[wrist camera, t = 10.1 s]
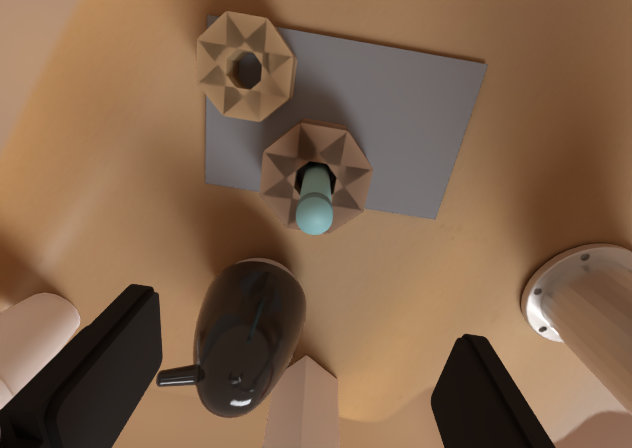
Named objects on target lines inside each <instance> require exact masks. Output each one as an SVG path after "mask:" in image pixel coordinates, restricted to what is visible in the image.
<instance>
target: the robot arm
mask: <svg viewBox="0 0 632 448" xmlns="http://www.w3.org/2000/svg"><path fill="white" fill-rule="evenodd" d="M521 308H522V314H523V316H524V318H525V320H526V322H527V323H528V324H529V325H530V327H531V328H532V329H533V330H534V331H535V332H536V333H537V334H539V335H541V336H542V337H544V338H546V339H549V340H552V341H557V342H564V343H565V344H566V345H567V346H568V347H569V348H570V349H571V350H572V351H573V352H574V353H575V355H576V356H577V357H578V358H579V359H580V360H581V361H582V362H583V363H584V364H585V365H586V366H587V367H588V369H589V370H590V371H591V372H592V373H593V374H594V375H595V376H596V377H597V378H598V379H599V380H600V382H601V383H602V384H603V385H604V386H605V387H606V388H607V389H608V390H609V391H610V392H611V393H612V395H613V396H614V397H615V398H616V399H617V400H618V401H619V402H620V403H621V404H622V405H623V406H624V407H625V409H626V410H627V411H628V412H629V413H630V414H631V415H632V251H630V250H628V249H626V248H623V247H621V246H618V245H613V244H607V243H599V244H588V245H583V246H579V247H576V248H573V249H570V250H567V251H565V252H563V253H561V254H559V255H557V256H555V257H554V258H552V259H551V260H549V261H548V262H546V263H545V264H544V265H543V266H542V267H541V268H539V269H538V270H537V271H536V272H535V274H534V275H533V276H532V277H531V278H530V280H529V282H528V283H527V285H526V287H525V289H524V292H523V295H522V301H521ZM161 362H162V339H161V322H160V305H159V294H158V293H157V292H154V289H153V287H150V286H144V285H137V284H131V285H129V286H128V287H127V288H126V289H125V290H124V291H123V292H122V293H121V294H120V295H119V296H118V297H117V298H116V299H115V300H114V301H113V302H112V303H111V304H110V305H109V306H108V307H107V308H106V309H105V310H104V311H103V312H102V313H101V314H100V315H99V316H98V317H97V318H96V319H95V320H94V321H93V322H92V323H91V324H90V325H89V326H86V327H85V328H83V329H82V330H81V331H80V332H79V333H78V334H77V335H76V336H75V337H74V338H73V339H72V340H71V341H70V342H69V343H68V344H67V345H66V346H65V347H64V348H63V349H62V350H61V351H60V352H59V353H58V354H57V355H56V356H55V357H54V358H53V359H52V360H50V361H49V362H48V363H47V364H46V365H45V366H44V367H43V368H42V369H41V370H40V371H39V372H38V373H37V374H36V375H35V376H34V377H33V378H32V379H31V380H30V381H29V382H28V383H27V384H26V385H25V386H24V387H23V388H22V389H21V390H20V391H19V392H18V393H17V394H16V395H15V396H14V397H13V398H12V399H11V400H10V401H9V402H8V403H7V404H6V405H5V406H4V407H3V408H2V409H1V410H0V448H112V446H113V444H114V443H115V441H116V440H117V438H118V436H119V435H120V433H121V431H122V430H123V428H124V426H125V425H126V423H127V421H128V420H129V418H130V416H131V414H132V413H133V411H134V410H135V408H136V406H137V405H138V403H139V401H140V400H141V397H142V396H143V395H144V393H145V391H146V390H147V388H148V386H149V385H150V383H151V381H152V380H153V378H154V376H155V375H156V373H157V371H158V370H159V368H160V365H161ZM431 406H432V410H433V413H434V416H435V420H436V423H437V426H438V429H439V432H440V435H441V438H442V441H443V445H444V448H555V446H554V444H553V443H552V441H551V440H550V438H549V436H548V435H547V433H546V432H545V430H544V428H543V427H542V425H541V424H540V422H539V421H538V419H537V417H536V416H535V414H534V413H533V411H532V409H531V408H530V406H529V405H528V403H527V401H526V400H525V398H524V397H523V395H522V393H521V392H520V390H519V389H518V387H517V386H516V384H515V382H514V381H513V379H512V378H511V376H510V374H509V373H508V371H507V370H506V368H505V366H504V365H503V363H502V362H501V360H500V358H499V357H498V355H497V354H496V352H495V351H494V349H493V347H492V346H491V344H490V343H489V341H488V340H487V338H485V337H483V336H477V335H470V334H464V335H463V336H462V337H461V338H458V339H457V340H456V342H455V344H454V346H453V349H452V351H451V353H450V355H449V358H448V360H447V362H446V364H445V366H444V369H443V371H442V373H441V375H440V378H439V380H438V382H437V384H436V387H435V389H434V391H433V394H432V396H431Z"/></svg>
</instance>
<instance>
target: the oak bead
mask: <svg viewBox="0 0 632 448" xmlns="http://www.w3.org/2000/svg"><path fill="white" fill-rule="evenodd" d="M247 54H255V56H256V57H257V58H258V60H259V61H260V63H261V64H262V73H261V81H260V82H259V83H258V84H257V85H255V86H254V87H253V88H247V87H246V86H245V84H244V83H243V82H242V80H241V79H240V78H239V76H238V73H239V62H240V61H241V60H242V59H243V58H244V57H245V56H246V55H247ZM296 68H297V58H296V57H295V55H294V54H293V52H292V51H291V49H290V48H289V46H288V45H287V43H286V42H285V40H284V39H283V37H282V36H281V34H280V33H279V31H278V30H277V28H276V27H275V26H274V25H273V24H272V22H271V21H270V20H269V19H268V18H264V17H259V16H253V15H247V14H242V13H236V12H231V11H227V12H224V13H223V14H222V15H221V16H220V17H219V18H218V19H217V20H216V21H215V22H214V23H213V24H212V25H211V26H210V27H209V28H208V29H207V30H206V31H205V32H204V33H203V34H202V35H201V36H200V37H199V38H198V40H197V84H198V85H199V87H200V88H201V89H202V90H203V92H204V93H205V94H206V95H207V97H208V98H209V99H210V100H211V102H212V103H213V104H214V105H215V107H216V108H217V109H218V110H219V112H220V113H221V114H222V115H224V116H226V117H232V118H238V119H244V120H250V121H256V122H260V121H262V120H264V119H266V118H268V117H269V116H270V115H271V114H273V113H274V112H275V111H276V110H278V109H279V108H280V107H281V106H283V105H284V104H285V103H286V102H288V101H289V100H290V99H291V98H293V93H294V85H295V76H296Z"/></svg>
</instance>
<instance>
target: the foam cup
mask: <svg viewBox="0 0 632 448" xmlns="http://www.w3.org/2000/svg"><path fill="white" fill-rule="evenodd" d="M79 324H80V316H79V314H78V311H77V309H76V308H75V307H74V306H73V305H72V304H71V303H70V302H69V301H68V300H66V299H64V298H62V297H60V296H58V295H56V294H51V293H45V292H43V293H39V294H35V295H33V296H31V297H28V298H27V299H25V300H23V301H21V302H19V303H17V304H16V305H14V306H12V307H10V308H8V309H6V310H4V311H3V312H1V313H0V410H1V409H2V408H3V407H4V406H5V405H6V404H7V403H8V402H9V401H10V400H11V399H12V398H13V397H14V396H15V395H16V394H17V393H18V392H19V391H20V390H21V389H22V388H23V387H24V386H25V385H26V384H27V383H28V382H29V381H30V380H31V379H32V378H33V377H34V376H35V375H36V374H37V373H38V372H39V371H40V370H41V369H42V368H43V367H44V366H45V365H46V364H47V363H48V362H49V361H50V360H52V359H53V358H54V357H55V356H56V355H57V354H58V353H59V352H60V350H61V349H62V348H63V346H64V345H65V344H66V343H67V341H68V340H69V339H70V337H71V336H72V335H73V334H74V332H75V331H76V329H77V328H78V327H79Z"/></svg>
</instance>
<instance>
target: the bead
mask: <svg viewBox="0 0 632 448" xmlns="http://www.w3.org/2000/svg"><path fill="white" fill-rule="evenodd" d="M309 161H312V162H319V163H325V164H327V165H328V166H329V167H330V169H331V170H332V172H333V173H334V177H333V181H331V182H330V190H331V202H332V206H333V220H332V224H331V226H330V227H329V229H328V230H327V231H325V232H323V233H324V234H327V233H328V234H329V233H331V232H332V231H334V230H335V229H337V228H338V227H340V226H342V225H343V224H345V223H346V222H348V221H349V220H351V219H353V218H354V217H356V216H357V215H359V214H360V213H362V212H363V211H364V207H365V203H366V199H367V194H368V190H369V186H370V182H371V178H372V173H373V168H372V166H371V164H370V163H369V161H368V159H367V157H366V156H365V154H364V153H363V151H362V150H361V148H360V147H359V145H358V144H357V142H356V141H355V139H354V138H353V136H352V135H351V133H350V132H349V130H348V129H347V127H346V126H345V125H343V124H337V123H331V122H325V121H319V120H313V119H307V118H304V119H302V120H300V121H299V122H298V123H296V124H295V125H294V126H292V127H291V128H290V129H289V130H287V131H286V132H285V133H283V134H282V135H281V136H280V137H278V138H277V139H276V140H274V141H273V142H272V143H271V144H270V145H269V146H268V147H267V148H266V149H265V150H264V152H263V159H262V170H261V182H260V193H259V194H260V197H261V198H262V199H263V200H264V201H265V203H266V204H267V205H268V206H269V207H270V209H271V210H272V211H273V212H274V213H275V215H276V216H277V217H278V218H279V219H280V221H281V222H282V223H283V224H284V225H285V227H287V228H291V229H298V230H301V229H300V228H299V227H298V225H297V222H296V208H297V204H298V202H299V198H300V193H301V188H302V183H303V181H302V180H301V179H300V177H299V176H298V169H299V168H301V167H302V166H304V165H305V164H306V163H308V162H309Z"/></svg>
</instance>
